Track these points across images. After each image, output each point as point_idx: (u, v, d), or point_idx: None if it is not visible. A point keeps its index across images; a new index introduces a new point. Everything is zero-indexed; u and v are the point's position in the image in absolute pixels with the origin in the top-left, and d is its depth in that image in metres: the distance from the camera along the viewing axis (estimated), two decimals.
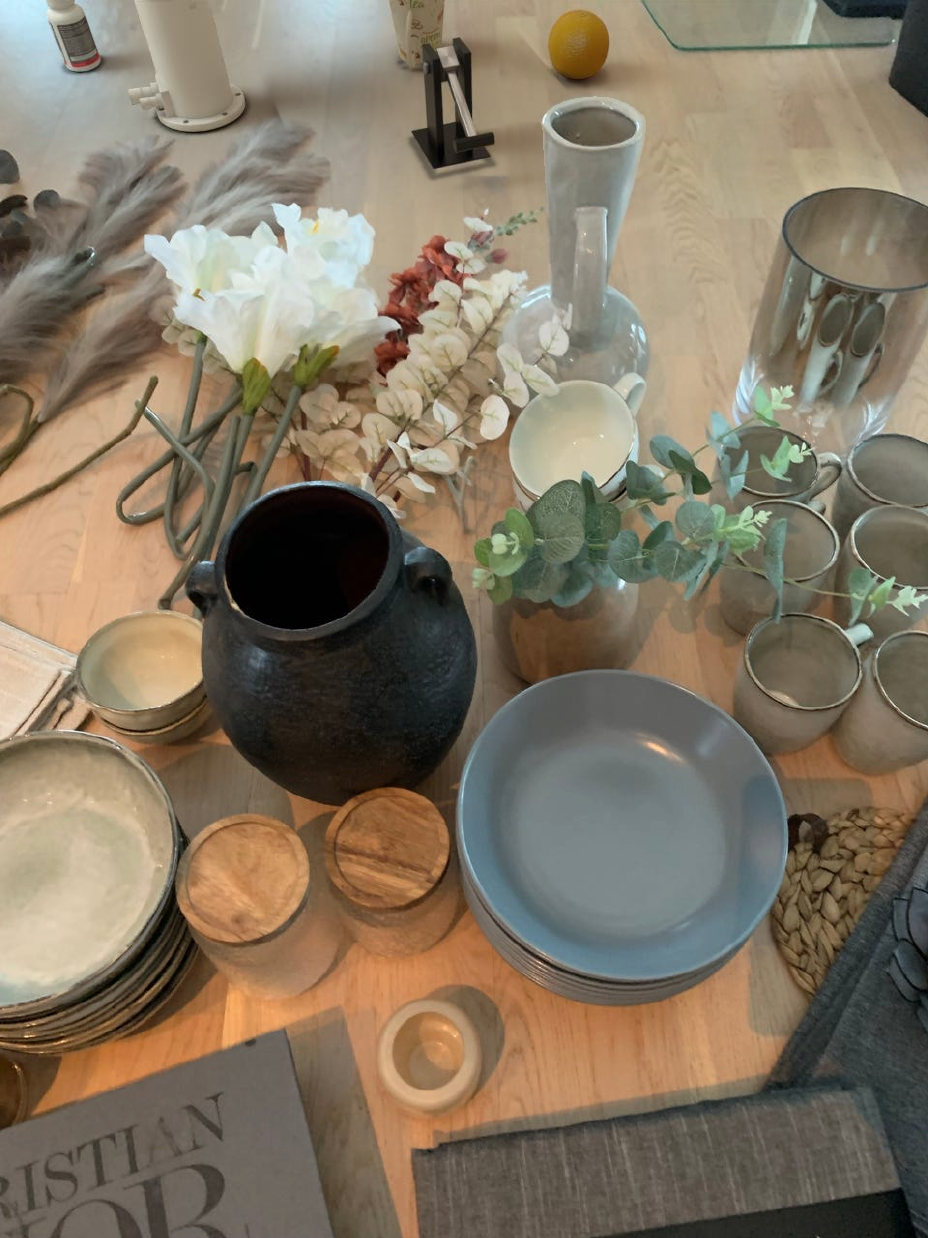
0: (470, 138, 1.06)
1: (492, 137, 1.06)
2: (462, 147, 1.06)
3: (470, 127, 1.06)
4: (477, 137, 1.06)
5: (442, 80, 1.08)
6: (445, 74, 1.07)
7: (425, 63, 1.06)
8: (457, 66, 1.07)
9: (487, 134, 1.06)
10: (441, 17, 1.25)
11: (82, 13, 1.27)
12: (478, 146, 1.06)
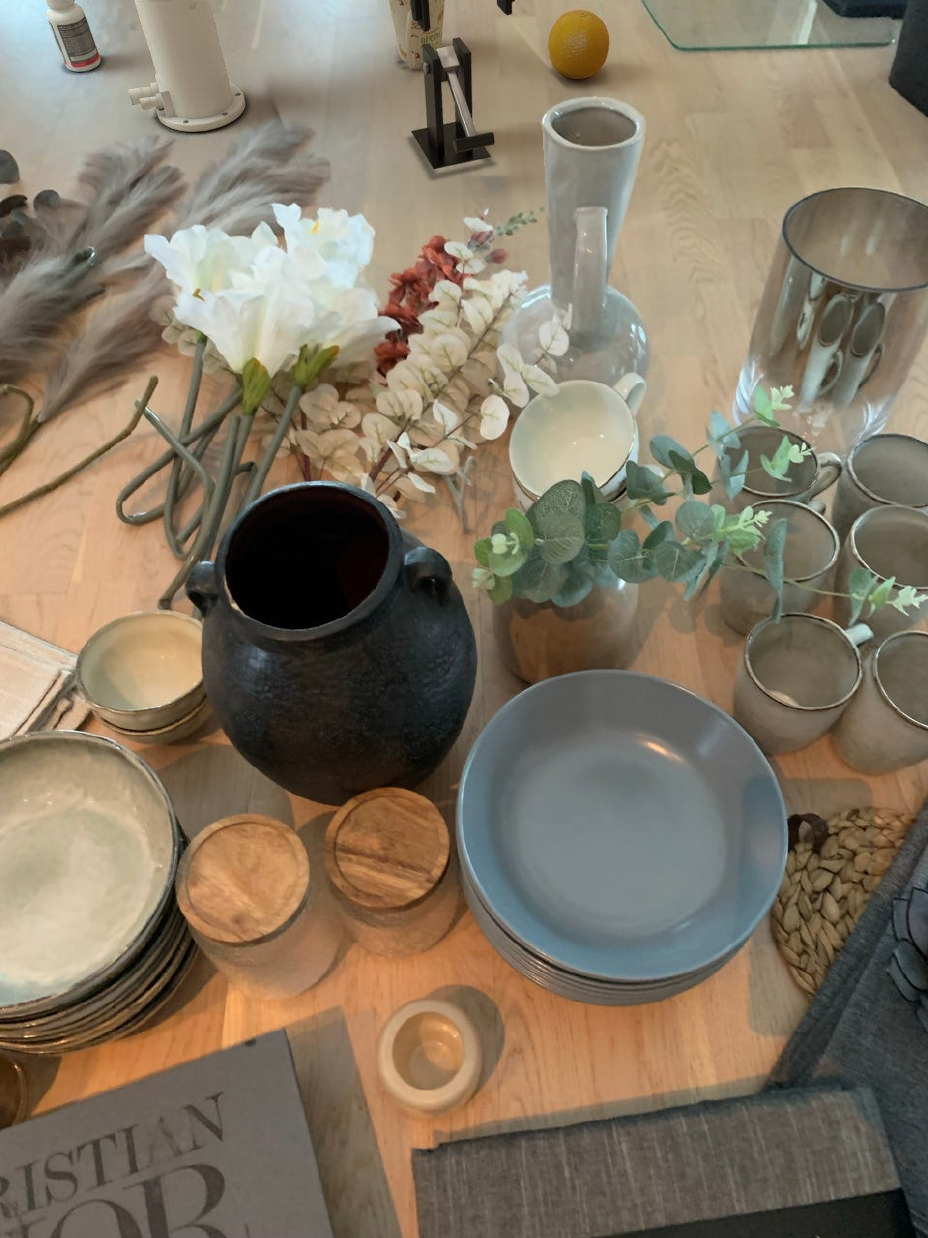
0: (470, 138, 1.06)
1: (492, 137, 1.06)
2: (462, 147, 1.06)
3: (470, 127, 1.06)
4: (477, 137, 1.06)
5: (442, 80, 1.08)
6: (445, 74, 1.07)
7: (425, 63, 1.06)
8: (457, 66, 1.07)
9: (487, 134, 1.06)
10: (441, 17, 1.25)
11: (82, 13, 1.27)
12: (478, 146, 1.06)
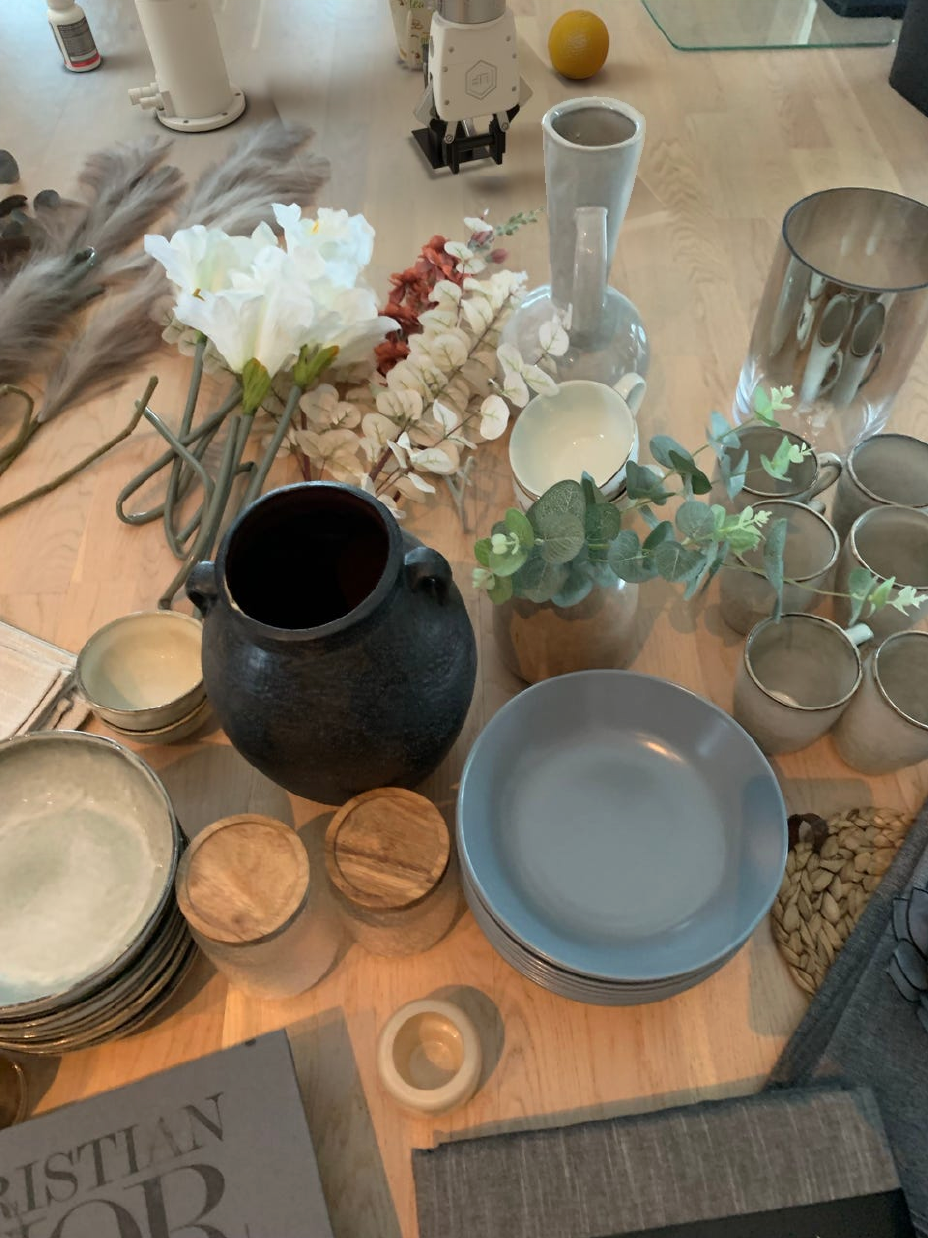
0: (470, 138, 1.06)
1: (492, 137, 1.06)
2: (462, 147, 1.06)
3: (470, 127, 1.06)
4: (477, 137, 1.06)
5: None
6: None
7: (425, 63, 1.06)
8: None
9: (487, 134, 1.06)
10: None
11: (82, 13, 1.27)
12: (478, 146, 1.06)
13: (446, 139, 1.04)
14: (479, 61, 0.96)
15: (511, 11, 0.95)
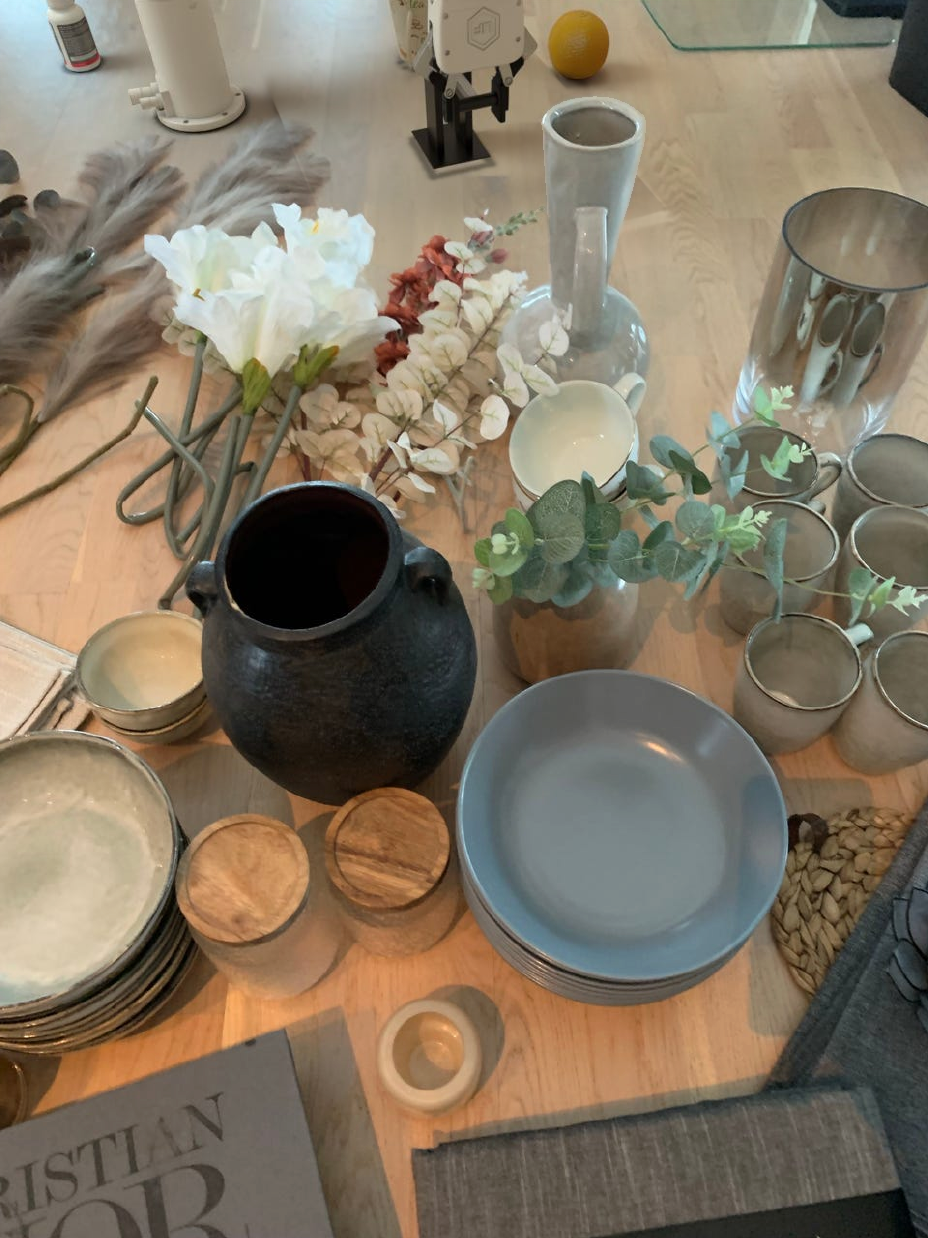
0: (471, 96, 1.01)
1: (494, 94, 1.01)
2: (464, 103, 1.00)
3: (471, 91, 1.02)
4: (479, 95, 1.01)
5: None
6: None
7: None
8: None
9: (489, 92, 1.01)
10: None
11: (82, 13, 1.27)
12: (481, 104, 1.01)
13: (446, 94, 0.98)
14: (481, 8, 0.91)
15: None
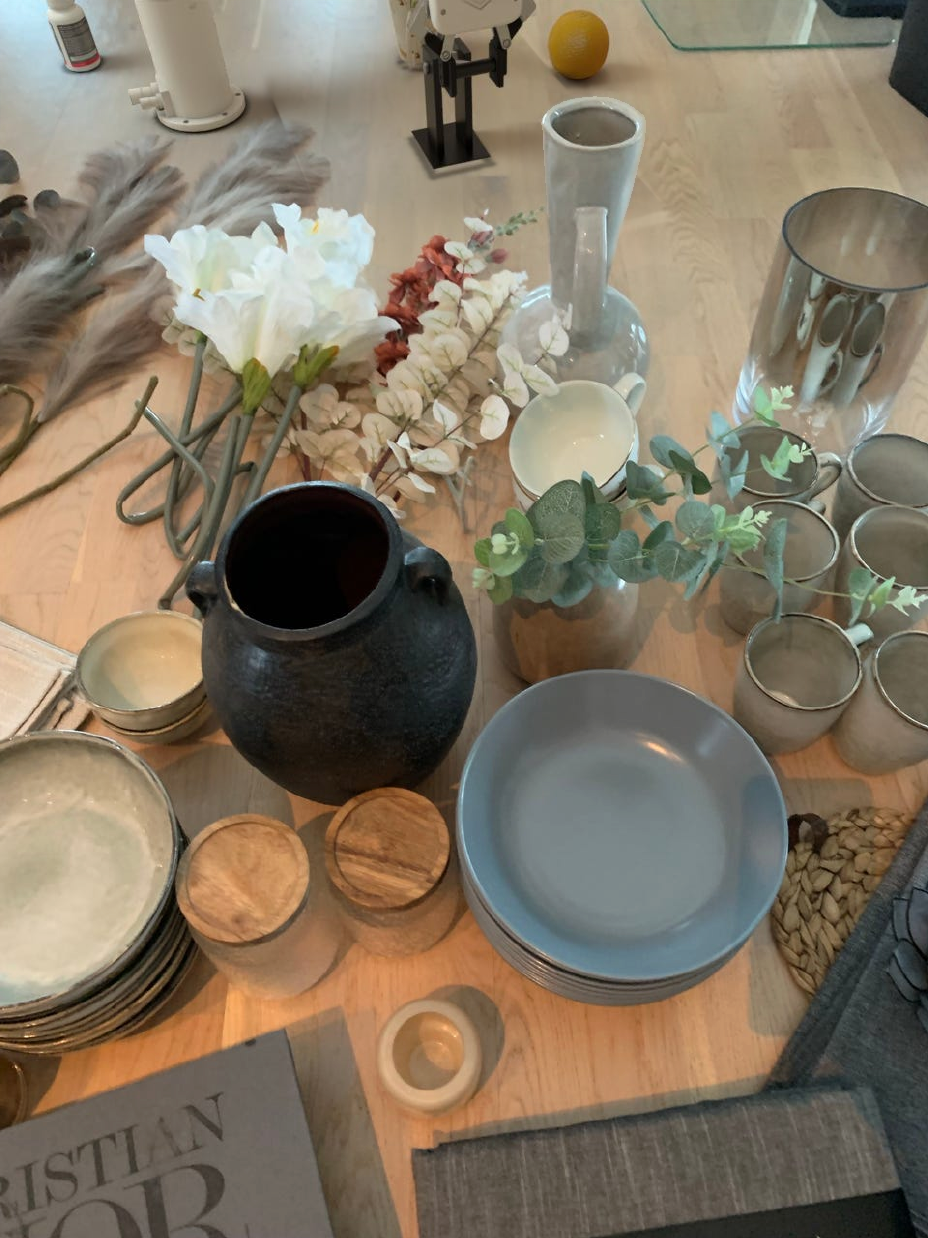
0: (468, 61, 0.98)
1: (492, 58, 0.99)
2: (461, 67, 0.98)
3: None
4: (476, 60, 0.98)
5: None
6: None
7: (425, 63, 1.06)
8: (455, 54, 1.06)
9: (486, 58, 0.99)
10: None
11: (82, 13, 1.27)
12: (478, 67, 0.98)
13: (442, 56, 0.96)
14: None
15: None
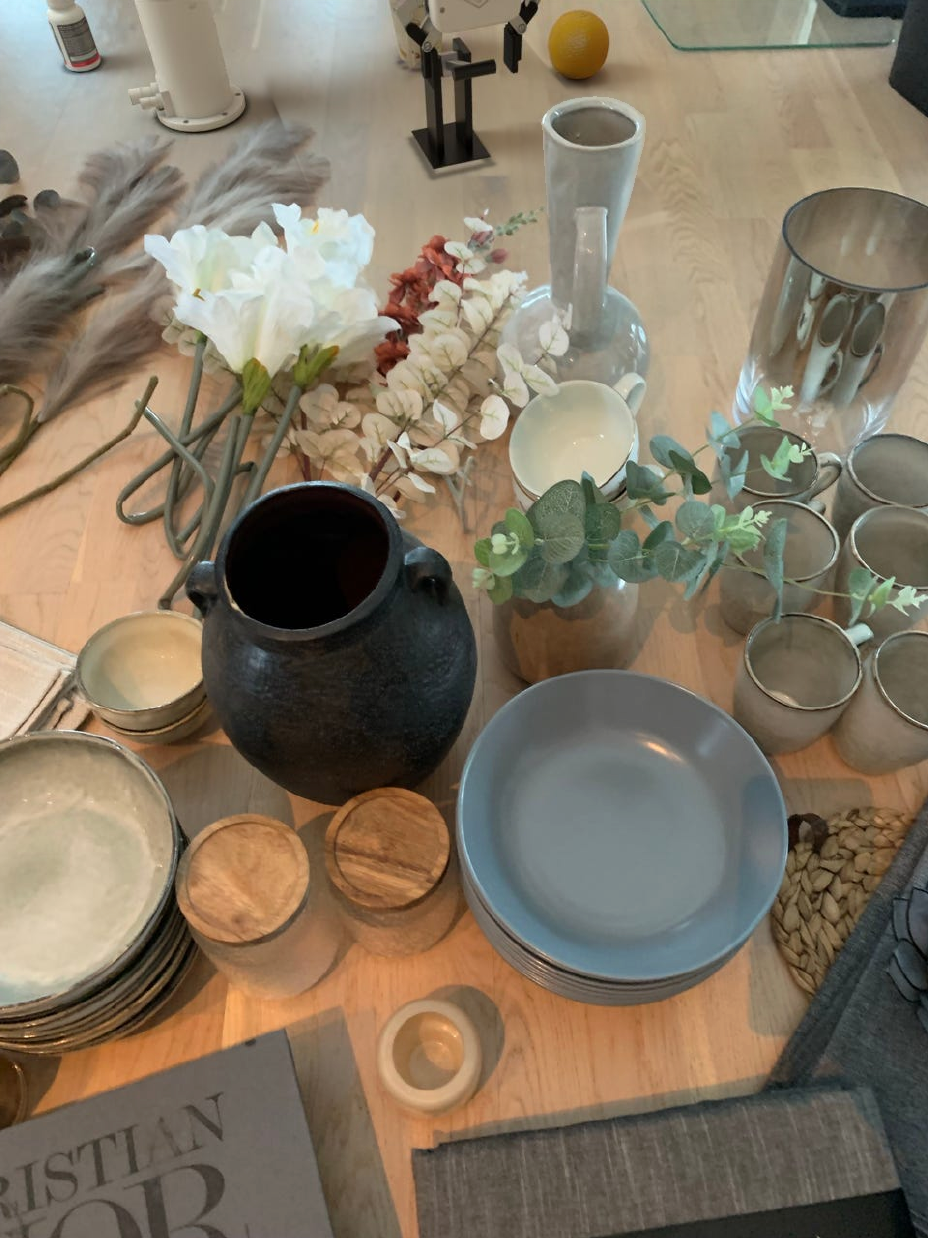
0: (468, 63, 0.98)
1: (492, 60, 0.99)
2: (461, 69, 0.98)
3: (468, 63, 1.00)
4: (476, 62, 0.99)
5: (443, 74, 1.07)
6: (445, 64, 1.06)
7: None
8: (455, 54, 1.06)
9: (487, 60, 0.99)
10: None
11: (82, 13, 1.27)
12: (478, 69, 0.98)
13: (424, 46, 0.95)
14: None
15: None
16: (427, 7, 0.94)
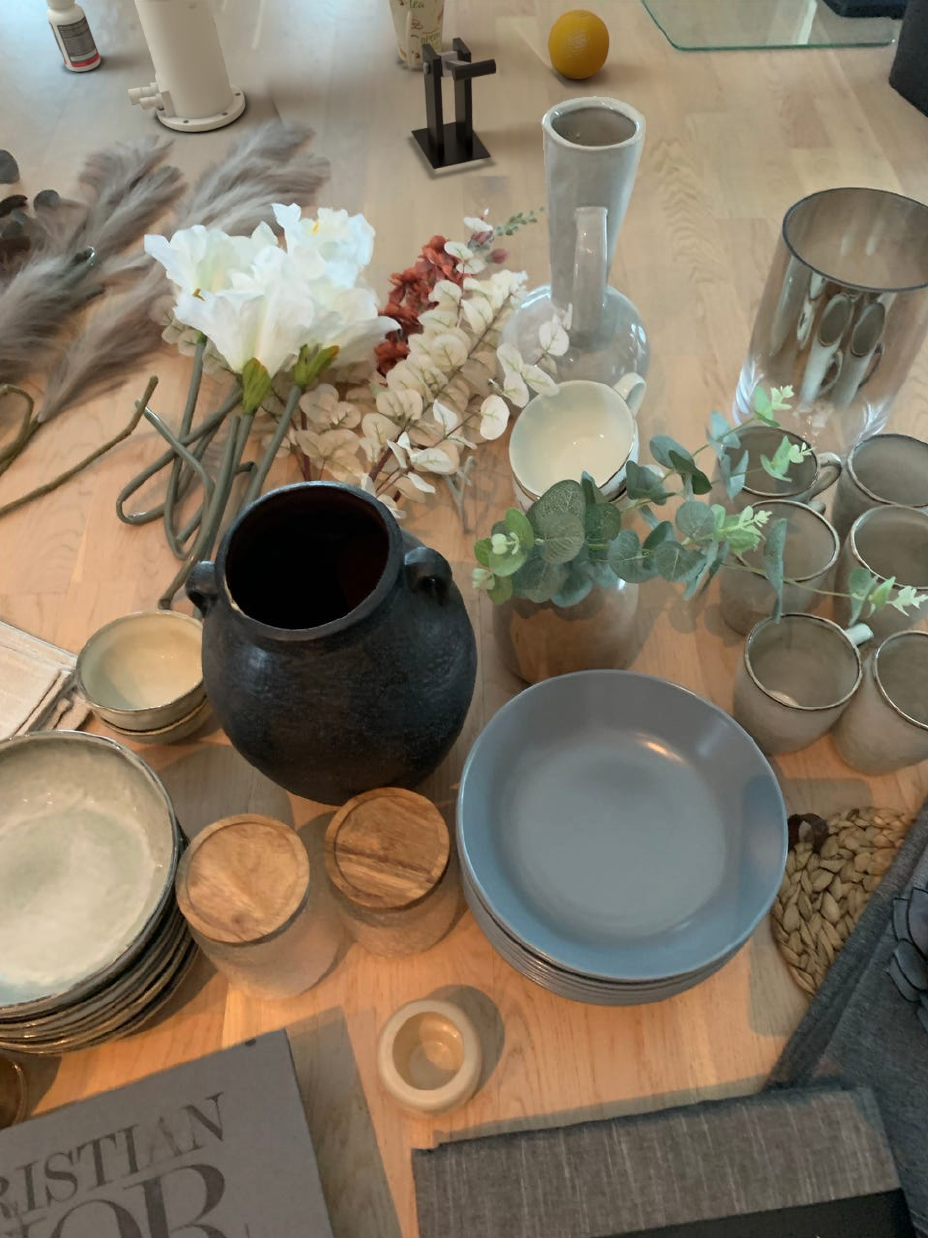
0: (468, 63, 0.98)
1: (492, 60, 0.99)
2: (461, 69, 0.98)
3: (468, 63, 1.00)
4: (476, 62, 0.99)
5: (443, 74, 1.07)
6: (445, 64, 1.06)
7: (425, 63, 1.06)
8: (455, 54, 1.06)
9: (487, 60, 0.99)
10: (441, 17, 1.25)
11: (82, 13, 1.27)
12: (478, 69, 0.98)
13: None
14: None
15: None
16: None
